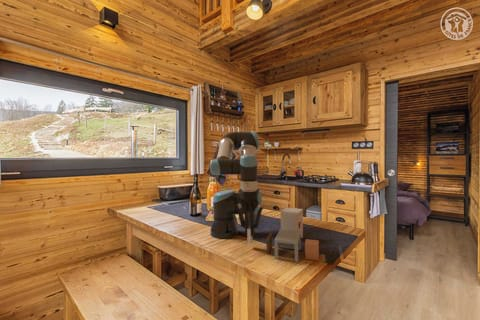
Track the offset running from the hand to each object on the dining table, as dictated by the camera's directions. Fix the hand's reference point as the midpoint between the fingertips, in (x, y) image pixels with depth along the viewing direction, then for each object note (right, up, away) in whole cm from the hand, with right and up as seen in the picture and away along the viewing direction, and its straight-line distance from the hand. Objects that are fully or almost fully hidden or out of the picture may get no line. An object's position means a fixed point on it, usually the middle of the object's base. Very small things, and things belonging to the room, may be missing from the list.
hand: (249, 242), depth 100 cm
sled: (+19, -4, -7) cm, 20 cm away
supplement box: (+22, -3, +13) cm, 26 cm away
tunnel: (+16, -4, -6) cm, 18 cm away
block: (+25, -2, -10) cm, 27 cm away
